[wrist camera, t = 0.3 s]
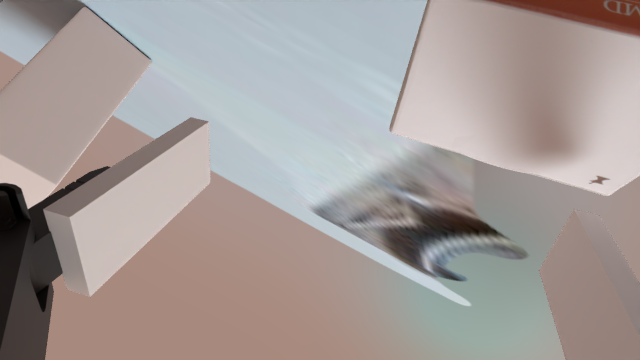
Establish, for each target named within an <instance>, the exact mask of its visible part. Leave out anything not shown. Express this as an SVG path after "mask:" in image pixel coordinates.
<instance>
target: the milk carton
mask: <svg viewBox="0 0 640 360" xmlns="http://www.w3.org/2000/svg"><path fill="white" fill-rule="evenodd" d="M151 64H152V61H151V60H150V59H148V58H147V57H146V56H145V55H144V54H142V53H141V52H140V51H139V50H138V49H136V48H135V47H134V46H133V45H132V44H130V43H129V42H128V41H127V40H125V39H124V38H123V37H122V36H121V35H119V34H118V33H117V32H116V31H115V30H113V29H112V28H111V27H110V26H109V25H107V24H106V23H105V22H104V21H103V20H101V19H100V18H99V17H98V16H97V15H95V14H94V13H93V12H92V11H90V10H89V9H88V8H87V7H83V8H82V9H81V10H80V11H79V12H78V13H77V14H76V15H75V16H74V17H73V18H72V19H71V20H70V21H69V22H68V23H67V24H66V25H65V26H64V27H63V28H62V29H61V30H60V31H59V32H58V33H57V34H56V35H55V36H54V37H53V38H52V39H51V40H50V41H49V42H48V43H47V44H46V45H45V46H44V47H43V48H42V49H41V50H40V51H39V52H38V53H37V54H36V55H35V56H34V57H33V58H32V59H31V60H30V61H29V62H28V63H27V64H26V65H25V67H23V68H22V70H21V71H20V72H19V73H18V74H17V75H16V76H15V77H14V78H13V79H12V80H11V81H10V82H9V83H8V84H7V85H6V86H5V87H4V88H3V89H2V90H1V91H0V183H9V184H14V185H17V186H18V187H20V188H21V189H22V192H23V195H24V198H25V202H26V205H27V208H28V209H29V208H31V207H32V206H34V205H36V204H37V203H39V202H41V201H42V200H44V199H45V198H46V197H47V196H48V195H49V194H50V193H51V192H52V191H53V190H54V189H55V188H56V187H57V185H58V184H59V183H60V181H61V180H62V179H63V178H64V176H65V175H66V174H67V172H68V171H69V170H70V169H71V167H72V166H73V165H74V163H75V162H76V161H77V159H78V158H79V157H80V156H81V154H82V153H83V152H84V150H85V149H86V148H87V147H88V145H89V144H90V143H91V141H92V140H93V139H94V138H95V136H96V135H97V134H98V132H99V131H100V130H101V128H102V127H103V126H104V125H105V123H106V122H107V121H108V119H109V118H110V117H111V116H112V114H113V113H114V112H115V110H116V109H117V108H118V107H119V105H120V104H121V103H122V101H123V100H124V99H125V97H126V96H127V95H128V94H129V92H130V91H131V90H132V88H133V87H134V86H135V85H136V83H137V82H138V81H139V79H140V78H141V77H142V75H143V74H144V73H145V72H146V70H147V69H148V68H149V66H150V65H151Z"/></svg>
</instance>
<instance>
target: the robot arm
mask: <svg viewBox="0 0 640 360" xmlns="http://www.w3.org/2000/svg"><path fill="white" fill-rule="evenodd" d="M209 183H210V148H209V122H208V121H204V120H200V119H196V118H189V119H187V120H186V121H184V122H183V123H181V124H179V125H178V126H176V127H175V128H173V129H171V130H170V131H168V132H167V133H165V134H163V135H162V136H160V137H159V138H157V139H155V140H154V141H152V142H151V143H149V144H147V145H146V146H144V147H142V148H141V149H139V150H138V151H136V152H134V153H133V154H132V155H130V156H128V157H126V158H125V159H123V160H122V161H120V162H118V163H117V164H115V165H114V166H112V167H108V166H107V167H104V168H101V169H97V170H94V171H91V172H89V173H87V174H86V175H84V176H83V177H81V178H79V179H77V180H76V182H72V183H71V184H69V185H67V186H66V187H65V189H61V190H59V191H57V192H56V193H54V194H52V195H51V196H49V197H47V198H46V199H44V200H42V201H41V202H39V203H37V204H36V205H34V206H32V207H31V208H29V209H28V208H27V205H26V202H25V198H24V195H23V192H22V189H21V188H20V187H18V186H17V185H14V184H9V183H0V360H45V355H46V347H47V339H48V332H49V324H50V316H51V309H52V301H53V293H54V291H53V286H52V281H53V280H55V279H56V278H57V277H58V276H60V275H61V274H62V275H63V278H64V281H65V285H66V288H67V289H69V290H72V291H74V292H78V293H80V294H83V295H87V296H89V297H90V296H91V295H93V294H94V293H95V292H96V291H97V290H98V289H99V288H100V287H101V286H102V285H103V284H104V283H105V282H106V281H107V280H108V279H109V278H110V277H111V276H113V275H114V274H115V273H116V272H117V271H118V270H119V269H120V268H121V267H122V266H123V265H124V264H125V263H126V262H127V261H128V260H129V259H130V258H131V257H132V256H134V255H135V254H136V253H137V252H138V250H140V249H141V248H142V247H143V246H144V245H145V244H146V243H147V242H148V241H149V240H150V239H151V238H152V237H153V236H155V235H156V234H157V233H158V232H159V231H160V230H161V229H162V228H163V227H164V226H165V225H166V224H167V223H168V222H169V221H170V220H171V219H172V218H174V216H175V215H176V214H178V213H179V212H180V211H181V210H182V209H183V208H184V207H185V206H186V205H187V204H188V203H189V202H190V201H191V200H192V199H193V198H195V197H196V196H197V195H198V194H199V193H200V192H201V191H202V190H203V189H204V188H205V187H206V186H207V185H208V184H209ZM539 272H540V275H541V279H542V282H543V285H544V289H545V292H546V295H547V299H548V302H549V305H550V309H551V312H552V315H553V319H554V322H555V325H556V328H557V332H558V335H559V339H560V342H561V345H562V349H563V352H564V355H565V359H566V360H640V283H639V281H638V279H637V278H636V276H635V274H634V273H633V271H632V269H631V268H630V266H629V264H628V263H627V261H626V259H625V258H624V256H623V254H622V253H621V251H620V249H619V248H618V246H617V244H616V243H615V241H614V239H613V238H612V236H611V234H610V233H609V231H608V229H607V228H606V226H605V224H604V223H603V221H602V220H601V218H600V216H599V215H597V214H593V213H588V212H584V211H580V210H576V209H573V211H572V213H571V215H570V217H569V219H568V220H567V222H566V224H565V225H564V227H563V229H562V231H561V233H560V234H559V236H558V238H557V240H556V241H555V243H554V245H553V247H552V248H551V250H550V252H549V254H548V256H547V257H546V259H545V261H544V263H543V264H542V266H541V268H540V270H539Z"/></svg>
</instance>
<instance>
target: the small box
mask: <svg viewBox="0 0 640 360" xmlns="http://www.w3.org/2000/svg"><path fill="white" fill-rule="evenodd" d="M390 132H391V133H393V134H397V135H400V136H404V137H407V138H410V139H413V140H416V141H420V142H423V143H426V144H430V145H433V146H436V147H440V148H443V149H446V150H450V151H453V152H456V153H459V154H462V155H465V156H468V157H471V158H474V159H476V160H479V161H482V162H485V163H488V164H491V165H495V166H498V167H501V168H505V169H509V170H514V171H519V172H524V173H527V174H531V175H536V176H539V177H542V178H546V179H549V180H553V181H556V182H560V183H563V184H567V185H571V186H574V187H578V188H581V189H585V190H588V191H591V192H594V193H597V194H600V195H604V196H609V195H611V194H612V193H614V192H615V191H616V190H618V189H620V188H621V187H623V186H624V185H626V184H627V183H629V182H630V181H632V180H633V179H635V178H636V177H638V176H639V175H640V0H428V1H427V4H426V7H425V11H424V14H423V17H422V21H421V24H420V27H419V31H418V34H417V37H416V41H415V44H414V47H413V51H412V54H411V57H410V61H409V64H408V67H407V71H406V74H405V77H404V81H403V84H402V87H401V91H400V94H399V97H398V101H397V104H396V107H395V110H394V114H393V117H392V121H391V124H390Z"/></svg>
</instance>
